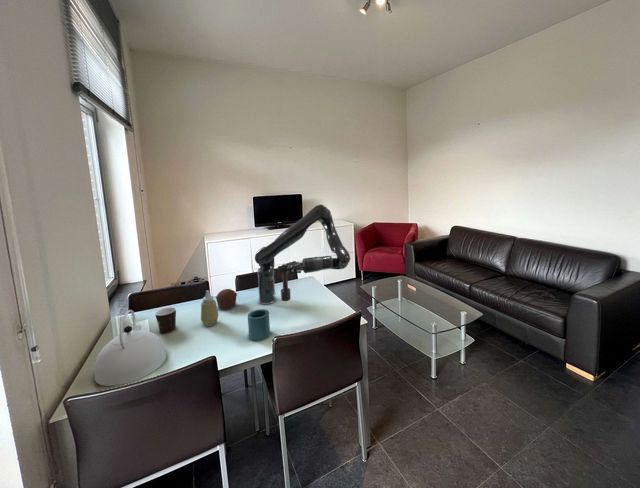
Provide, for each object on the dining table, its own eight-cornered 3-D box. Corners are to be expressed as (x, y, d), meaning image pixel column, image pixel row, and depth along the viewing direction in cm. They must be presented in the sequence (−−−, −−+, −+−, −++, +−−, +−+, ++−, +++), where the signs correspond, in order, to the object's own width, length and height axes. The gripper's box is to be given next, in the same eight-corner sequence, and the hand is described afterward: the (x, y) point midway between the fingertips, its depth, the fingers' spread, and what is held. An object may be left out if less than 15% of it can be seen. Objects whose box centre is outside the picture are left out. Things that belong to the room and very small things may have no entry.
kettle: (109, 354, 129) (102, 305, 126) (171, 341, 138) (166, 295, 135) (84, 393, 106) (75, 334, 103) (160, 374, 116) (154, 320, 113)
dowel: (280, 298, 152) (278, 264, 149) (289, 296, 153) (288, 262, 151) (282, 301, 147) (280, 266, 145) (291, 300, 149) (289, 265, 147)
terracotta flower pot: (239, 307, 172) (238, 291, 171) (218, 313, 166) (217, 296, 164) (235, 300, 182) (234, 285, 180) (215, 305, 176) (213, 289, 174)
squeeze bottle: (211, 328, 150) (208, 294, 147) (197, 327, 151) (194, 293, 149) (222, 320, 157) (219, 288, 155) (209, 319, 159) (206, 287, 157)
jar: (248, 333, 145) (247, 311, 144) (268, 328, 149) (267, 307, 148) (249, 342, 137) (248, 320, 135) (271, 337, 141) (269, 316, 139)
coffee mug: (159, 327, 151) (157, 309, 149) (179, 324, 154) (177, 305, 153) (153, 339, 140) (151, 319, 139) (175, 335, 144) (173, 315, 142)
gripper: (309, 254, 160) (275, 258, 153) (316, 261, 147) (280, 266, 140) (309, 267, 161) (276, 272, 154) (316, 275, 149) (280, 281, 141)
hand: (278, 269), depth 147 cm, fingers closed on dowel, 2 cm apart
